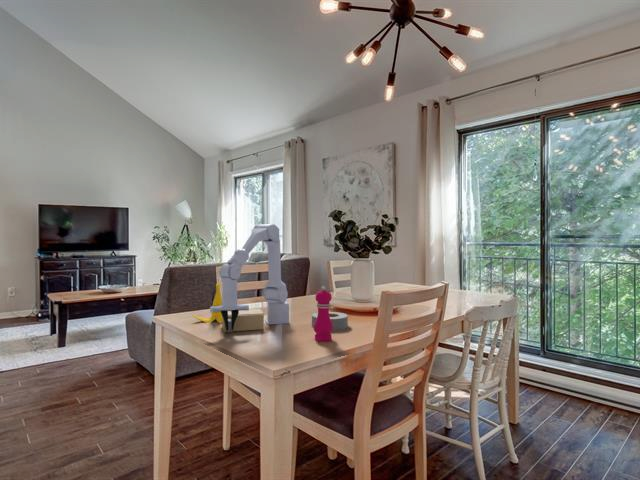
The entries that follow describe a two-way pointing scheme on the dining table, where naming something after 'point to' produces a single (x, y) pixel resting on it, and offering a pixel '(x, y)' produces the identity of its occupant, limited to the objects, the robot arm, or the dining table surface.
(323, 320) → the pepper mill
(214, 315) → the banana peel
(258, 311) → the carton
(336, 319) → the tape roll
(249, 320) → the front flap
